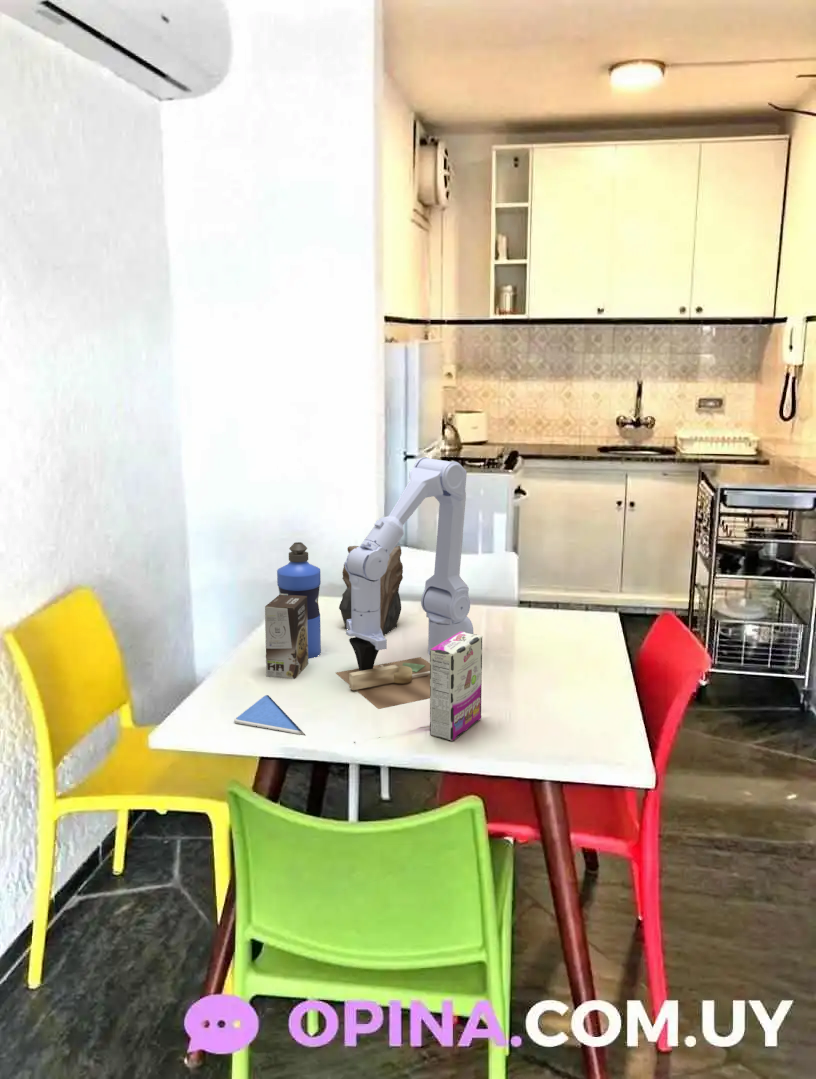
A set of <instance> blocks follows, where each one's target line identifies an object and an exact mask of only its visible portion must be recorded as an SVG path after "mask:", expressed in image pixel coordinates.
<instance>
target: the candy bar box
mask: <svg viewBox="0 0 816 1079" xmlns="http://www.w3.org/2000/svg"><path fill="white" fill-rule="evenodd" d="M429 659H430V660H429V663H430V698H429V734H430V735H431V736H432V737H434V736H435V738H438V737H440V738H439V739H442V738H443V740H447V741H449V740H450V742H453V740H454V741H455V740H456V739H457V738H459V737H460V736H461V735H463V734H464V733H465V732H467V730H468V728H469V729H471V727H472V726H474V725H475V724H476V723H478V722H479V721H480V720H482V681H483V680H482V675H483V635H480V634H475V633H473V634H472V633H467V632H458V633H457V634H455V635H453V636H452V637H450V638H448V639H447V640H445V641H443V642H442V643H440V644H438V645H437V646H435V647H433V648H431V649H430V655H429ZM463 732H464V733H463ZM458 736H459V737H458Z"/></svg>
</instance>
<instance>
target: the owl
mask: <svg viewBox="0 0 816 1079" xmlns="http://www.w3.org/2000/svg"><path fill="white" fill-rule="evenodd" d="M357 547H360V545H349V546H347V552H348V554H349V553H350V552H351V551H352V550H353V549H356V548H357ZM389 556H390V557H389V560H388V563H387V570H386V572H385V574H384V575H383V576H382V577H381V578H380V628H381V630H382V633H383V636H384V637H385V634H386V635H387V634H388V633H389V631H390V632H392V631H393V629H395V627H396V628H397V627H398V622H399V618H400V615H401V612H402V602H401V597H400V592H399V590H400V585H401V584H402V583H401V582H402V581H403V579H404V577H403V573H404V569H403V568H404V565H403V563H402V561H401V556H402V547H401V546H400V545H396V546H395V548H394V549H393V551H392V552H391V553H390V555H389ZM342 580H343V582H344V583H345V586H346V589H345V591H344V592H343V593H342V595H341V596H342V597H341V598H342V599H341V601H340V603H339V606H338V609H339V611H340V615H341V618H342V620H343V624H344V630H345V629H347V625H346V620H347V619H351V582H350V581H349V574H348V572H347V571H346V569H345V565H344V564H343V568H342ZM391 630H392V631H391Z"/></svg>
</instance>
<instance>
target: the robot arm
mask: <svg viewBox="0 0 816 1079" xmlns="http://www.w3.org/2000/svg"><path fill="white" fill-rule="evenodd" d="M467 473H468V471H467V470H466V468H464V467H463V465H462V464H461V463H459V462H458V461H453V460H452V461H450V460H449V461H448V460H442V459H436V458H430V457H426V456H423V457H420V458H418V459H417V460H416V462H414V466H413V467H412V468H411V469H410V471H409V476H408V478H409V482H408V483H407V485H406V486H405V488H404V490H403V491H402V493H401V494H400V496H399V498H398V500H397V501H396V503H395V505H394V506H393V508H392V510H391V511H390V513H389V514H388V515H387V516H382V517H380V518H378V519H377V520H376V521H375V523H373V525H374V526H373V527H372V529H371V530H370V531H369V533H368V534H367V536H366V537H365V539H364V540H363V541H362V543H361V544H360V545H359V547H357V548H356V549H353V550H352V551H351V552H350V553H349V552H348V554H347V557H346V560H345V562H344V564H343V566H344V565H345V569H346V571H347V572H348V574H349V581H350V582H351V619H347V620H346V625H347V629H348V630H346V631H345V634H346V636H348V637H350V638H349V639H348V642H349V644H350V645H351V647H352V649H353V651H354V654H355V657H356V662H357V666H358V668H359V671H363V670H368V669H373V666H375V662H376V659H377V656H378V653H379V651H382V650H387V640H388V639H387V638H385V635H384V636H383V633H382V630H381V628H380V578H381V577H382V576H383V575H384V574H385V572H386V570H387V563H388V560H389V557H390V556H389V555H390V553H391V552H392V551H393V549H394V548H395V547H396V546H398V543H399V541H400V540H401V539H402V538H403V536H404V525H405V524H406V522H407V521H408V520H409V519H410V517H411V516H412V515H413V514H414V512H415V511H416V510H417V509H418V508H419V506H420V505H421V504H422V503H423V501H424V500H425V499H426V498H432V497H434V498H435V499H436V500H437V501H438V503H439V508H438V521H437V533H436V534H437V535H436V543H435V544H436V545H435V547H436V548H435V560H434V572H433V575H431V576H430V577H429V578H428V579H426V580H425V582H424V583H425V584H424V586H425V587H424V590H423V592H422V595H421V598H420V605H421V608H422V610H423V611H424V612H425V613H426V614H425V616H426V618H428V631H427V632H428V636H427V637H428V639H427V644H428V645H427V648H428V649H427V653H428V655H429V656H430V649H431V648H433V647H435V646H437V645H438V644H440V643H442V642H443V641H445V640H447V639H448V638H450V637H452V636H453V635H455V634H457V633H458V632H467V633H472V634H474V626H473V623H472V620H471V618H470V617H468V614H469V613H470V609H471V599H470V596H469V590H470V589H469V586H468V585H467V583H466V582H465V580H463V578H462V577H461V560H462V549H463V535H464V525H465V514H466V513H465V512H466V500H467V494H466V491H467V490H466V487H467Z"/></svg>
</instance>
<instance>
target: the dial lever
mask: <svg viewBox="0 0 816 1079" xmlns="http://www.w3.org/2000/svg"><path fill="white" fill-rule="evenodd" d="M428 674H430V671H428V672H423V673H417V674H412V668H410V667H407V666H396V665H390V666H385V667H379V668H374V669H368V670H363V671H358V672H352V673H349V684H348V686H349V688H350V690H352V691H356V690H357V689H362V688H367V687H373V686H378V685H383V684H388V683H393V682H394V683H408V682H410V681H412V678H413V677H418V676H423V675H428Z"/></svg>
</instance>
